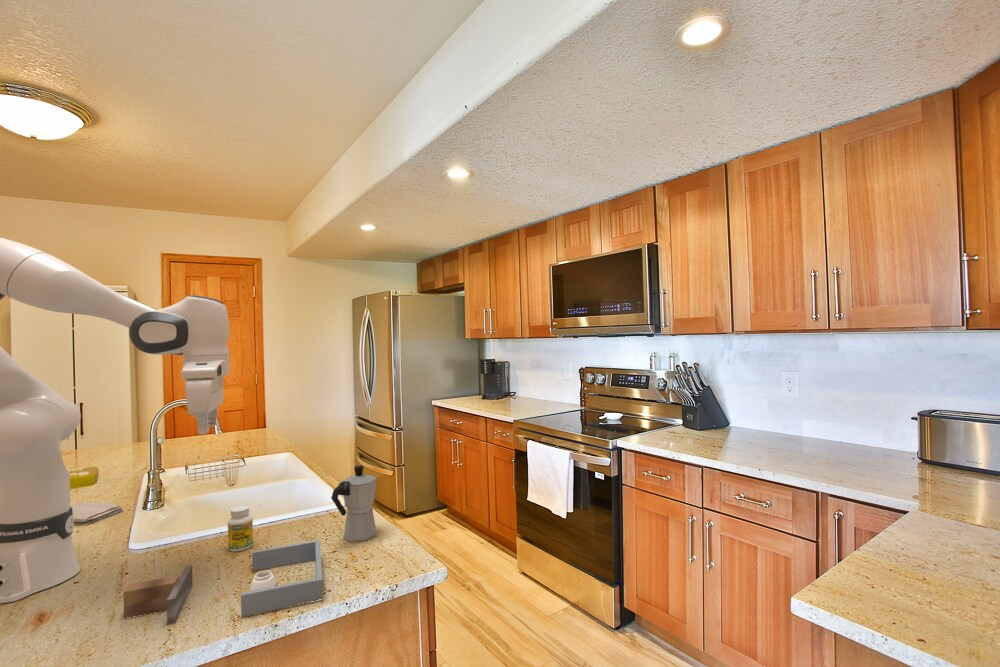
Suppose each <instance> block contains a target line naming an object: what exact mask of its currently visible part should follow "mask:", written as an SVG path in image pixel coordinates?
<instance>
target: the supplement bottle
mask: <svg viewBox="0 0 1000 667" xmlns="http://www.w3.org/2000/svg"><path fill="white" fill-rule="evenodd" d="M230 516H231V517H230V518H229V519H228V521H227V537H228V538H227V541H228V545H227V546H228V550H229V551H230V552H234V553H235V552H242V551H246V550H248V549H250V548H251V547H252V546H253V545H254V527H253V525H254V523H253V522H254V521H253V516H252V515H251V514H250V507H249V505H248V506H247V505H240V506H236V507H232V508H231V509H230Z"/></svg>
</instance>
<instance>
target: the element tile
mask: <svg viewBox="0 0 1000 667" xmlns="http://www.w3.org/2000/svg"><path fill="white" fill-rule="evenodd" d="M67 470H68V471H69V474H70V490H72V489H77V488H86V487H92V486H95V485H96V484H97V481H98V479H99V467H98V466H90V467H81V468H73V469H67Z"/></svg>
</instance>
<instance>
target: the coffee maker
mask: <svg viewBox="0 0 1000 667" xmlns="http://www.w3.org/2000/svg"><path fill="white" fill-rule="evenodd" d="M364 468H365V466H364V465H359V464H358V465H355V466H354V473H355V474H354V475H352V476H349V477H346V478H345V479H343V480H342V481H341V482H339V483H338V485H337V486H336V487H335V488H334V489H333V491H332V494H331V500H332V501H333V504H334V505H335V506H336V508H337V509H338V511H339V513H340V514H341V516H345V515H346V518H345V525H344V531H343V532H344V533H343V539H342V540H343V541H344V540H346V541H345V542H347V541H349V542H348V543H351V542H352V543H351V544H354V543H353V542H357V543H363V542H364V541H365V542H369V541H370V540H372V539H374V538H376V537H377V527H376V522H375V521H376V520H375V517H374V516H375V515H374V509H373V504H374V503H375V496H376V495H375V494H376V489H377V480H378V479H377V478H378V475H369V474H363V472H364ZM339 496H343V500H344V505H343V504H342V503H341V501H340V499H339ZM345 508H346V509H347V510H346V509H345ZM362 541H363V542H362Z"/></svg>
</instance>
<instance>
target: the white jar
mask: <svg viewBox="0 0 1000 667" xmlns="http://www.w3.org/2000/svg"><path fill="white" fill-rule="evenodd" d="M277 583H278V580H277V578H276V577H275V576H274V574H273V573H272V571H271V570H267V569H265V570H260V571H258V572H257V573H256V574H255V575H254V578H253V579H252V581H251V583H250V584H249V590H248V591H254V590H259V589H264V588H269V587H274V586H278V585H277Z"/></svg>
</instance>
